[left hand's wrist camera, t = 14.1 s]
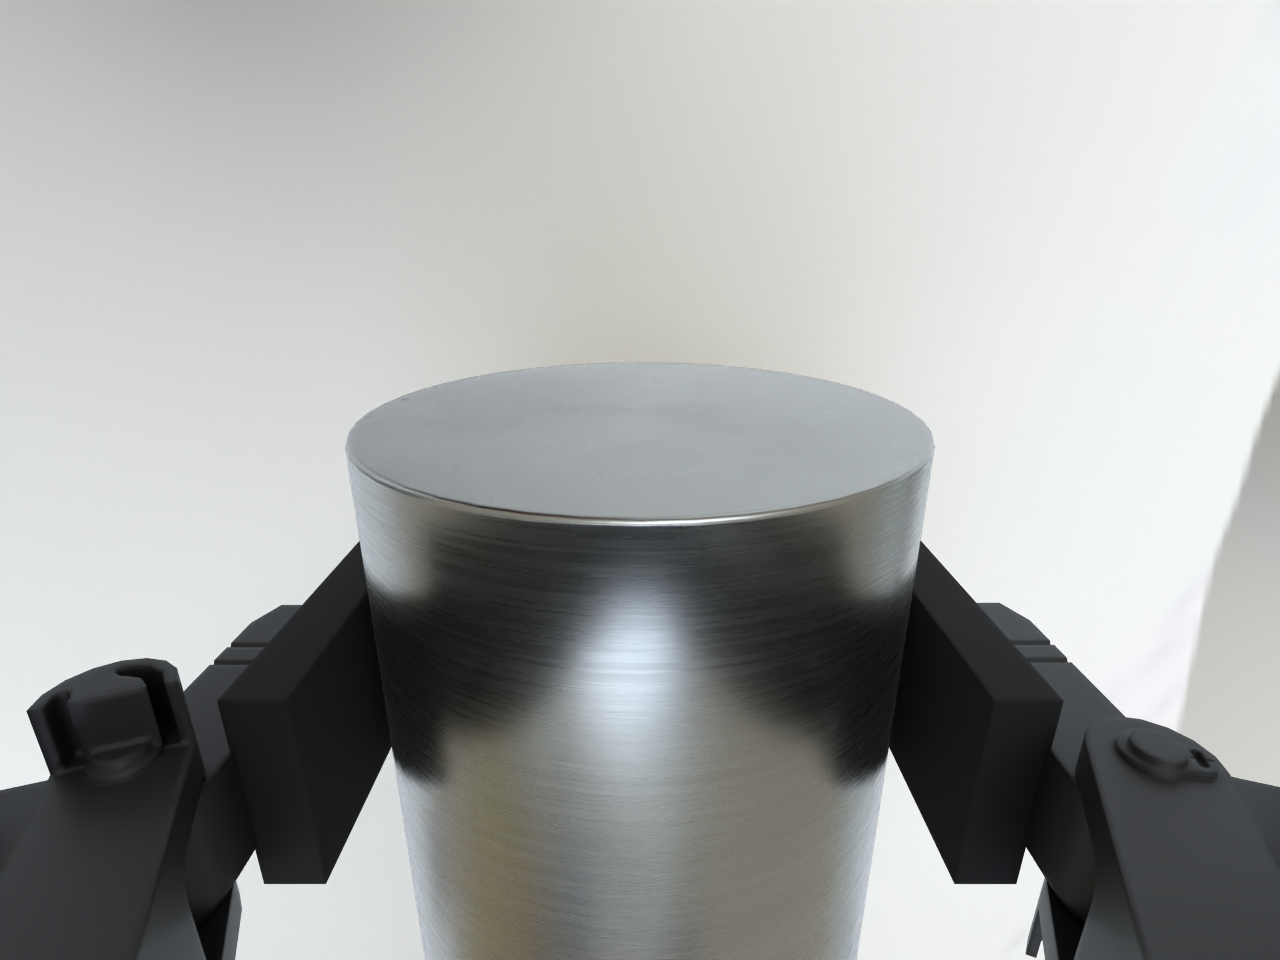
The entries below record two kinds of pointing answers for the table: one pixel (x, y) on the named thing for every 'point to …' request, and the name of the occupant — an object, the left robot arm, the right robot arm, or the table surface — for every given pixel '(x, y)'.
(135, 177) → the table surface
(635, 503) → the rod
